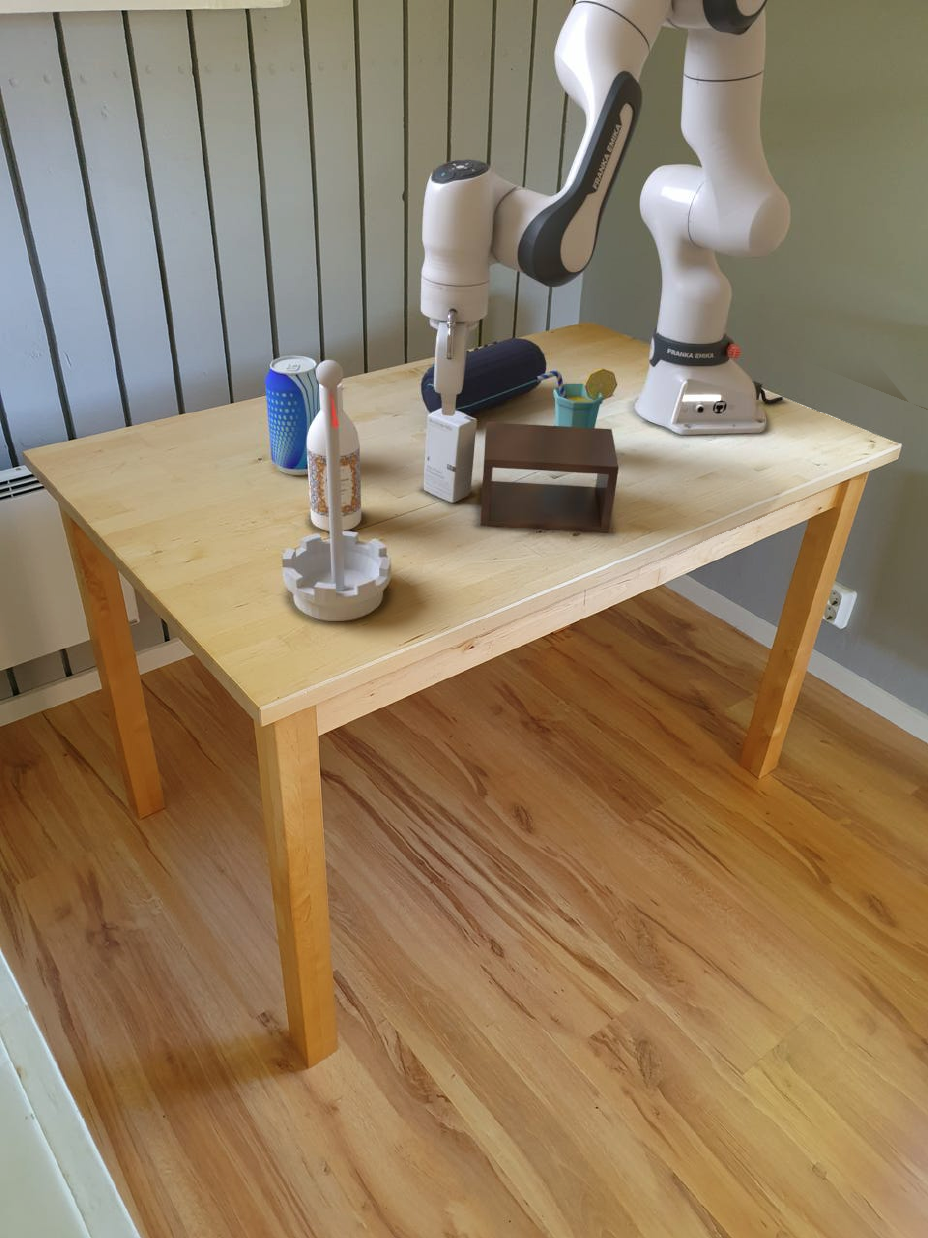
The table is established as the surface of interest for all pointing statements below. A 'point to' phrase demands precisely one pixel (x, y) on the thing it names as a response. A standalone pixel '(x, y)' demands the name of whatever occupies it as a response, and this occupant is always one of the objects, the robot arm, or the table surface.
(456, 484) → the cosmetic box
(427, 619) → the table surface
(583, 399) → the cup
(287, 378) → the beer can
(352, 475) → the bath foam
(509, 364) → the portable speaker
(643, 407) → the robot arm
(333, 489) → the flag stand
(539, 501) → the shelf
